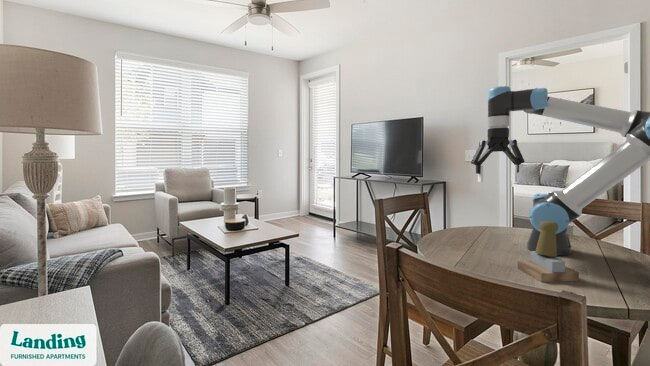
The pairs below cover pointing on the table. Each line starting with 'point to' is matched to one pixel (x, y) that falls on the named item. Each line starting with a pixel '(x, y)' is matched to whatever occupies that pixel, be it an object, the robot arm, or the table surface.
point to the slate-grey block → (548, 262)
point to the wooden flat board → (547, 273)
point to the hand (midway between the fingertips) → (497, 181)
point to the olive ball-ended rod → (547, 239)
